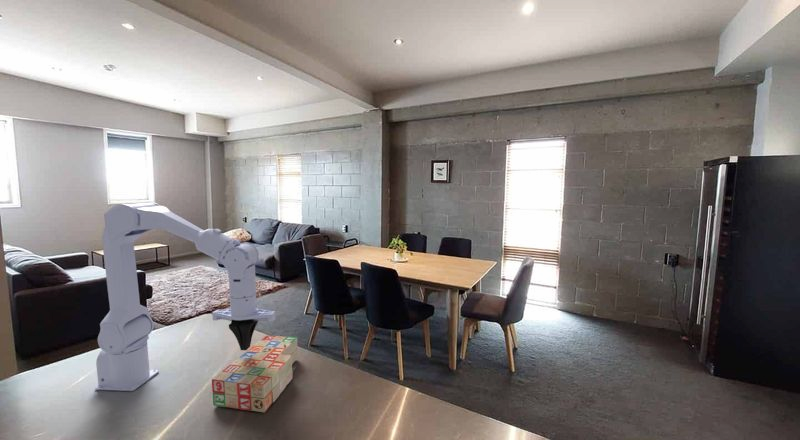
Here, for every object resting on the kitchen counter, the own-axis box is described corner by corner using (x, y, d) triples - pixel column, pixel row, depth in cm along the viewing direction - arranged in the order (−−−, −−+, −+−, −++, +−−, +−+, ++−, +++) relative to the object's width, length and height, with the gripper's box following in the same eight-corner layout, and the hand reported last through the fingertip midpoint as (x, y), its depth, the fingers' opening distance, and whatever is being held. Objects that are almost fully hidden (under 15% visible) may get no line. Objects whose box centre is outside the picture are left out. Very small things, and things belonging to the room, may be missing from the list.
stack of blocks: (266, 334, 90) (308, 337, 89) (267, 355, 91) (308, 359, 89) (211, 379, 69) (264, 385, 68) (212, 406, 70) (265, 413, 68)
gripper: (279, 289, 81) (281, 341, 83) (223, 288, 82) (226, 339, 83) (266, 299, 74) (268, 355, 76) (205, 298, 75) (208, 353, 76)
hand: (245, 348), depth 79 cm, fingers closed
